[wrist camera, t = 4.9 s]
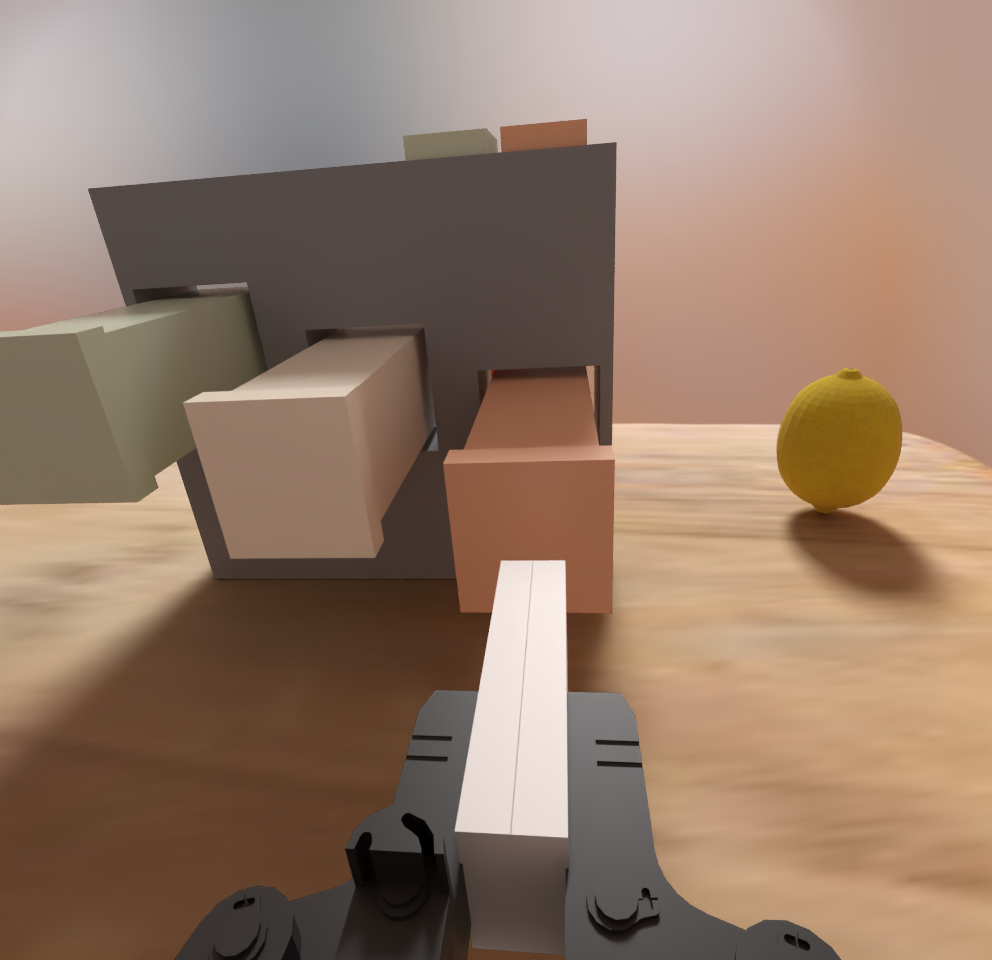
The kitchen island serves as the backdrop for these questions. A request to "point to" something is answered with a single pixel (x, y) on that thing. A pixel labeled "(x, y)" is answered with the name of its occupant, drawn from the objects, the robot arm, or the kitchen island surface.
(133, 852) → the kitchen island surface
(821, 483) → the lemon
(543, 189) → the key panel
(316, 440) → the ivory key
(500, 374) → the terracotta key
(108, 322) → the sage key
